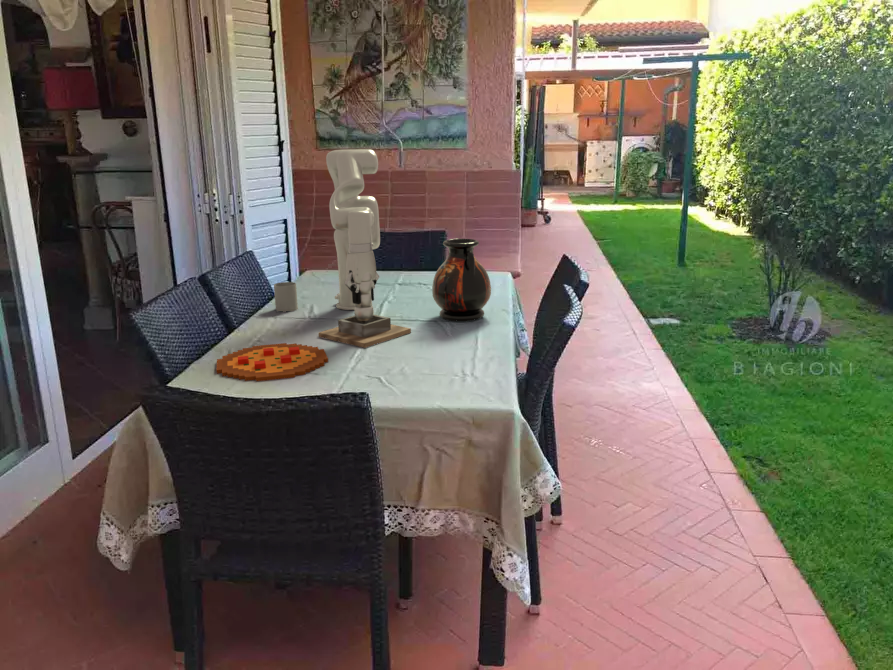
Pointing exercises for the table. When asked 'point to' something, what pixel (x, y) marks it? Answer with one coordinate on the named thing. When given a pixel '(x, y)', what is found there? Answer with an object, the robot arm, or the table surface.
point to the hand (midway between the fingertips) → (363, 301)
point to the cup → (285, 296)
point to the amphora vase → (461, 283)
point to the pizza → (271, 362)
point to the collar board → (364, 331)
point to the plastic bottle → (365, 299)
